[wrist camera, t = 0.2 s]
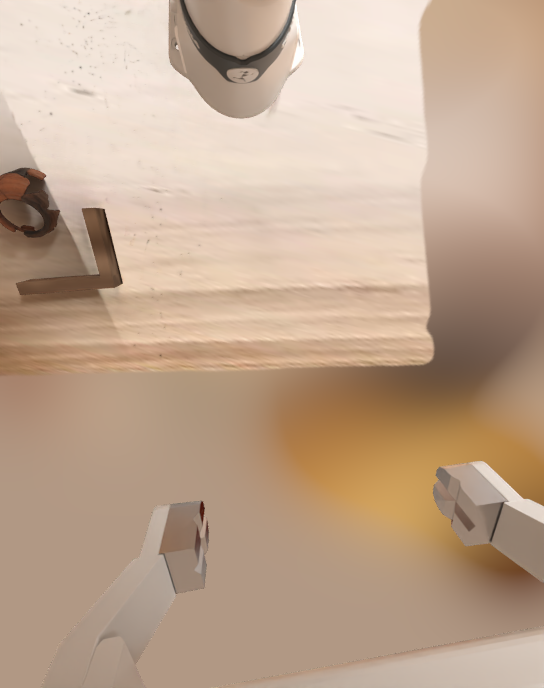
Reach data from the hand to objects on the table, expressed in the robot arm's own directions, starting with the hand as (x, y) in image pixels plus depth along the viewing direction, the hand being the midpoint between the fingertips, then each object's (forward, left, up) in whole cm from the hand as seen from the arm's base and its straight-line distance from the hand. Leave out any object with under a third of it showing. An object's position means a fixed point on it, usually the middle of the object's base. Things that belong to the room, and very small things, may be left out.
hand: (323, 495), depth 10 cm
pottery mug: (-16, -37, -54) cm, 67 cm away
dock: (0, -33, -53) cm, 62 cm away
